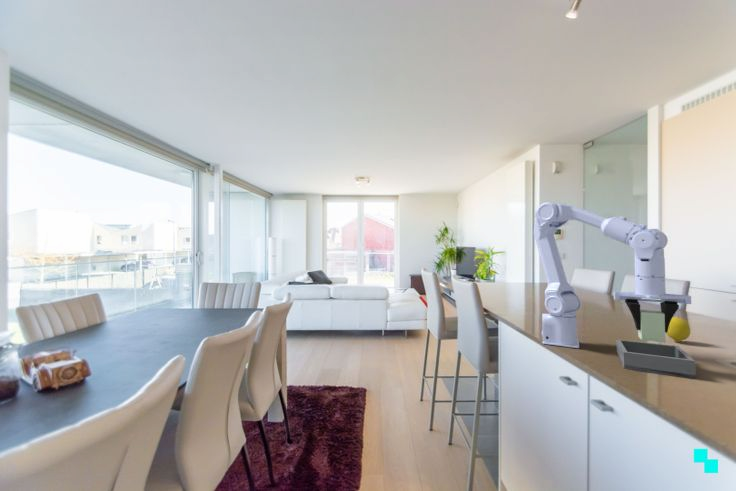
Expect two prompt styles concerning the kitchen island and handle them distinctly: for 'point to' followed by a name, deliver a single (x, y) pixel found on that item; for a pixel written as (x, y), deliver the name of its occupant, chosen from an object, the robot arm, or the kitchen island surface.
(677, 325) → the lemon
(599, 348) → the kitchen island surface
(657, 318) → the block
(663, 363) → the bin
